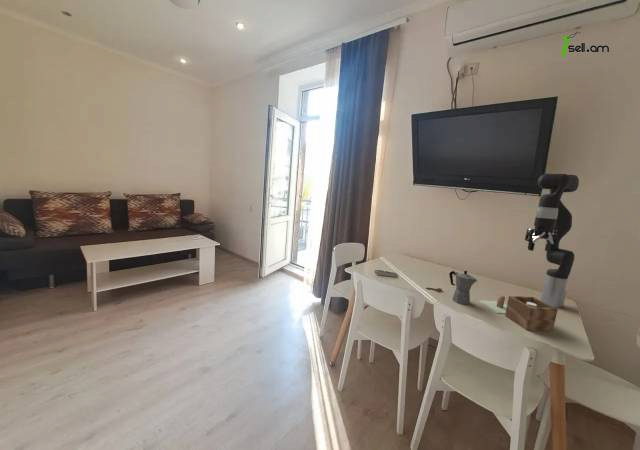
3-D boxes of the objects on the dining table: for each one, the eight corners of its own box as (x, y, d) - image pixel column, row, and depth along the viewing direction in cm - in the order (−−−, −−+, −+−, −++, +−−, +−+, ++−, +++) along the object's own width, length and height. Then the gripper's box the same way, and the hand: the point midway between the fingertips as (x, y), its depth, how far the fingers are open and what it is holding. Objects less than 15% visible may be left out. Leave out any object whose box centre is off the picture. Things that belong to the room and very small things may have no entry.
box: (528, 316, 132) (533, 296, 130) (552, 331, 119) (557, 309, 117) (504, 315, 131) (508, 295, 129) (526, 330, 118) (531, 308, 117)
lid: (502, 303, 148) (504, 291, 147) (522, 315, 134) (524, 302, 133) (478, 302, 147) (480, 290, 146) (496, 314, 134) (499, 301, 133)
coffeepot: (477, 304, 143) (482, 273, 140) (468, 307, 138) (473, 276, 135) (450, 293, 155) (454, 265, 153) (441, 296, 150) (446, 267, 147)
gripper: (552, 217, 123) (545, 249, 126) (524, 215, 122) (518, 248, 125) (568, 219, 116) (560, 253, 118) (538, 217, 115) (531, 252, 117)
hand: (539, 250), depth 121 cm, fingers open, 8 cm apart
